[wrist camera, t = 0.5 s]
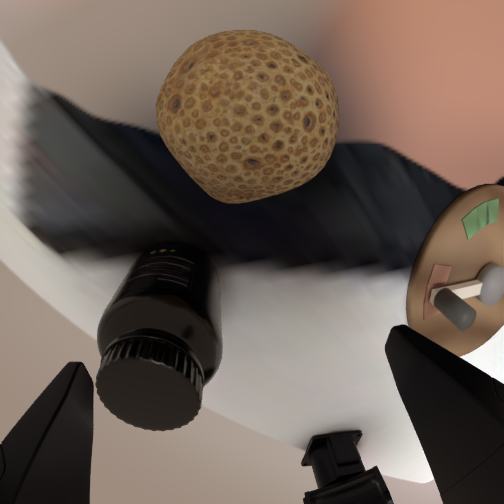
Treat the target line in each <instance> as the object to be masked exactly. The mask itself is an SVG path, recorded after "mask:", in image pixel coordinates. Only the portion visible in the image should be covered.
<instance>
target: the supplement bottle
mask: <svg viewBox="0 0 504 504" xmlns="http://www.w3.org/2000/svg"><path fill="white" fill-rule="evenodd" d="M97 343H98V348H99V352H100V355H101V357H102V359H101V365H100V368H99V371H98V373H97V376H96V388H97V394H98V395H99V396H100V400H101V401H102V402H103V403H104V406H105V407H106V408H107V409H109V411H110V412H111V413H112V414H114V415H115V416H116V417H117V418H118V419H121V420H123V421H124V422H126V423H127V424H131V425H133V426H135V427H139V428H142V429H145V430H152V431H157V430H159V431H165V430H173V429H175V428H181V427H182V426H183V425H187V424H188V423H189V422H190V421H192V420H193V419H194V417H195V416H196V415H198V411H199V410H200V408H201V404H202V391H203V387H204V386H205V385H206V384H207V383H208V382H209V381H210V380H211V379H212V378H213V377H214V375H215V374H216V372H217V370H218V368H219V366H220V363H221V359H222V348H223V346H222V322H221V297H220V283H219V278H218V274H217V271H216V269H215V267H214V266H213V264H212V263H211V261H210V260H209V259H208V258H207V257H206V256H205V255H204V254H203V253H201V252H200V251H199V250H197V249H195V248H193V247H191V246H189V245H185V244H181V243H162V244H158V245H155V246H153V247H151V248H149V249H147V250H146V251H145V252H143V253H142V254H141V255H140V256H139V257H138V258H137V260H136V261H135V263H134V264H133V265H132V267H131V268H130V270H129V272H128V273H127V275H126V276H125V278H124V280H123V281H122V283H121V284H120V286H119V288H118V289H117V291H116V293H115V294H114V296H113V298H112V299H111V301H110V303H109V304H108V306H107V308H106V309H105V311H104V313H103V315H102V317H101V320H100V322H99V325H98V331H97Z"/></svg>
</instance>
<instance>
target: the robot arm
mask: <svg viewBox="0 0 504 504" xmlns="http://www.w3.org/2000/svg"><path fill="white" fill-rule="evenodd" d="M385 353H386V356H387V359H388V362H389V365H390V367H391V370H392V373H393V376H394V380H395V383H396V386H397V389H398V391H399V394H400V396H401V399H402V401H403V403H404V405H405V408H406V410H407V412H408V415H409V417H410V419H411V422H412V424H413V426H414V429H415V431H416V433H417V436H418V438H419V441H420V443H421V446H422V448H423V451H424V453H425V456H426V458H427V461H428V463H429V466H430V468H431V471H432V474H433V476H434V479H435V482H436V484H437V487H438V490H439V492H440V496H441V499H442V501H443V504H504V384H503V383H501V382H500V381H498V380H496V379H495V378H491V376H490V375H488V374H486V373H485V372H483V371H481V370H480V369H478V368H477V367H475V366H473V365H472V364H470V363H468V362H467V361H465V360H463V359H462V358H460V357H458V356H457V355H455V354H453V353H452V352H450V351H448V350H447V349H445V348H443V347H442V346H440V345H438V344H437V343H435V342H433V341H432V340H430V339H428V338H427V337H425V336H423V335H422V334H420V333H418V332H417V331H415V330H413V329H412V328H410V327H408V326H407V325H398V326H394V327H393V328H392V329H391V330H390V333H389V336H388V339H387V341H386V344H385ZM93 392H94V385H93V381H92V378H91V377H90V375H89V373H88V371H87V369H86V367H85V366H84V364H83V363H82V362H69V363H67V364H66V366H65V367H64V368H63V369H62V370H61V371H60V372H59V374H58V375H57V376H56V377H55V378H54V379H53V380H52V382H51V383H50V384H49V385H48V386H47V387H46V388H45V390H44V391H43V392H42V393H41V395H40V396H39V397H38V398H37V399H36V400H35V401H34V403H33V404H32V405H31V406H30V408H29V409H28V410H27V411H26V412H25V414H24V415H23V416H22V417H21V419H20V420H19V421H18V422H17V423H16V425H15V426H14V427H13V428H12V430H11V431H10V432H9V434H8V435H7V436H6V437H5V438H4V440H3V441H2V444H0V504H90V473H91V457H92V444H93V394H94V393H93ZM361 436H362V432H361V431H353V432H346V433H339V434H331V435H322V436H315V437H313V438H312V439H311V441H310V443H309V446H308V448H307V450H306V453H305V455H304V457H303V459H302V462H301V465H302V466H312V469H313V472H314V475H315V479H316V483H317V486H318V489H317V490H313V491H310V492H309V491H308V492H305V498H303V502H304V504H394V503H393V500H392V498H391V495H390V492H389V490H388V488H387V486H386V484H385V482H384V480H383V478H382V476H381V473H380V471H379V469H378V467H377V466H375V467H372V469H369V470H367V471H366V470H365V468H364V465H363V463H362V460H361V457H360V454H359V452H358V449H357V447H356V445H357V443H358V442H359V440H360V438H361Z"/></svg>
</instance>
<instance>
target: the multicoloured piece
mask: <svg viewBox="0 0 504 504" xmlns="http://www.w3.org/2000/svg"><path fill="white" fill-rule="evenodd" d="M503 294H504V268H502V267H500V266H499V265H497V264H495V263H489V264H488V265H486V266H485V267H484V268H483V269H482V270H481V272H480V273H479V275H478V277H477V279H476V280H474V281H469V282H465V283H460V284H456V285H451V286H446V287H441V288H436V289H432V291H431V296H430V301H429V302H430V303H432V304H433V305H434V306H435V307H436V308H437V309H438V310H439V311H440V312H441V313H442V314H443V315H444V316H445V317H446V318H447V319H449V320H450V321H451V322H452V323H453V324H454V325H455V326H456V327H457V328H458V329H459V330H460V331H465V330H467V329H468V328H470V327H471V326H472V324H473V323H474V321H475V319H476V310H475V309H474V308H472V307H471V306H470V305H469V304H467V303H466V302H465V301H464V300H462V299H465V298H469V297H472V296H475V297H476V298H477V299H478V300H480V301H481V302H482V303H484V304H485V305H486V306H493V305H494V304H496V303H497V302H498V301H499V300H500V299H501V298H502V296H503Z"/></svg>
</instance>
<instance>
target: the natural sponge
mask: <svg viewBox="0 0 504 504" xmlns="http://www.w3.org/2000/svg"><path fill="white" fill-rule="evenodd" d="M338 108H339V107H338V99H337V93H336V90H335V88H334V85H333V82H332V80H331V78H330V76H329V75H328V74H327V72H326V71H325V70H324V68H323V67H321V66H319V64H317V63H316V62H315V61H314V60H313V59H312V58H310V57H309V56H308V55H306V54H305V53H304V52H303V51H301V50H300V49H298V48H297V47H295V46H293V45H292V44H291V43H289V42H287V41H286V40H284V39H282V38H280V37H278V36H275V35H272V34H269V33H265V32H261V31H255V30H233V31H225V32H220V33H216V34H213V35H210V36H208V37H205V38H203V39H201V40H199V41H198V42H196V43H195V44H193V45H191V46H190V47H189V48H188V49H187V50H186V51H185V52H184V53H183V54H182V55H181V56H180V58H179V59H178V60H177V61H176V62H175V64H174V65H173V67H172V68H171V70H170V72H169V74H168V76H167V78H166V79H165V81H164V83H163V86H162V88H161V90H160V93H159V96H158V100H157V104H156V114H157V124H158V128H159V132H160V135H161V137H162V139H163V141H164V143H165V145H166V146H167V148H168V149H169V151H170V152H171V154H172V155H173V156H174V158H175V159H176V160H177V161H178V163H179V164H180V165H181V166H182V168H183V169H184V170H185V171H186V172H187V174H188V175H189V176H190V177H191V178H192V179H193V180H194V181H195V182H196V183H197V184H198V185H199V186H200V187H201V188H202V189H203V190H204V191H205V192H206V193H208V194H209V195H210V196H211V197H213V198H215V199H216V200H218V201H221V202H224V203H234V204H237V203H245V202H250V201H254V200H259V199H263V198H265V197H270V196H274V195H277V194H280V193H283V192H286V191H288V190H291V189H293V188H296V187H298V186H301V185H302V184H304V183H306V182H308V181H309V180H310V179H312V178H313V177H314V176H316V175H317V174H318V173H319V172H320V171H321V170H322V168H323V167H324V166H325V165H326V163H327V161H328V160H329V158H330V156H331V153H332V151H333V148H334V145H335V142H336V138H337V133H338V126H339V109H338Z"/></svg>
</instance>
